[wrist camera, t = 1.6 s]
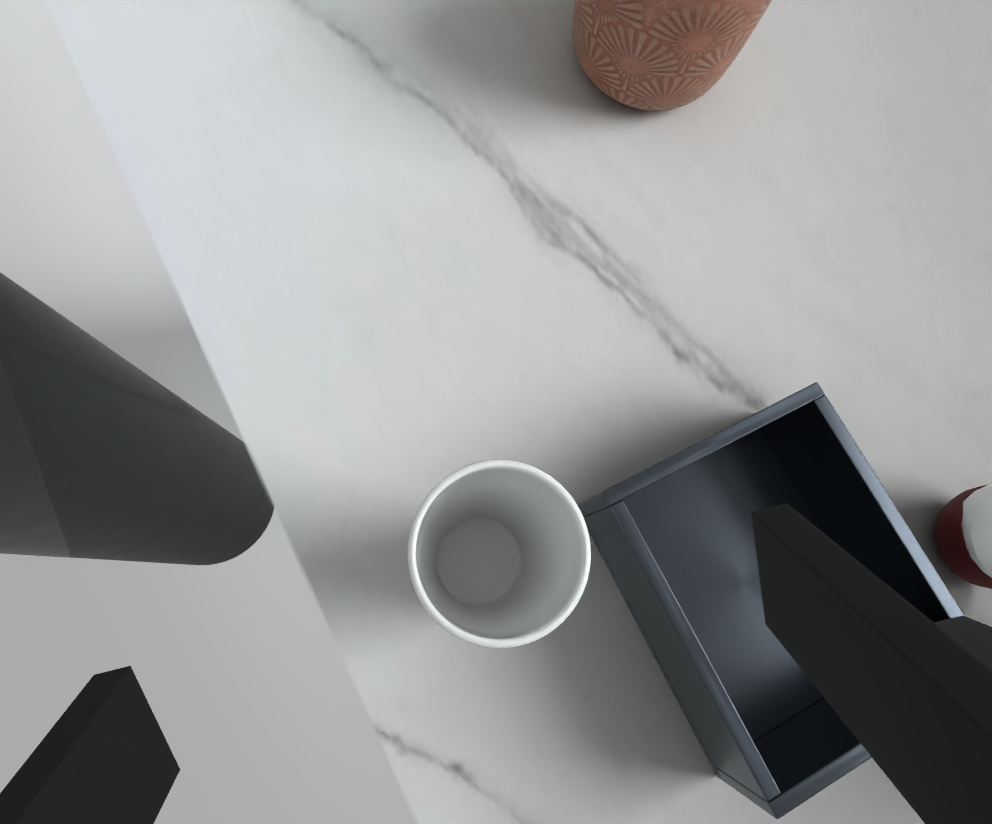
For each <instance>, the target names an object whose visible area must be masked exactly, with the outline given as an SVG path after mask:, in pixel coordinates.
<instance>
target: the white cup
mask: <svg viewBox="0 0 992 824" xmlns="http://www.w3.org/2000/svg"><path fill="white" fill-rule="evenodd" d="M590 564H591V545H590V538H589V533H588V529H587V526H586V523H585V520H584V517H583V515H582V513H581V511H580V509H579V507H578V505H577V504H576V502H575V501H574V499H573V498H572V496H571V495H570V494H569V493H568V492H567V490H566V489H565V488H564V487H563V486H562V485H561V484H560V483H559V482H557V481H556V480H555V479H554V478H552V477H551V476H549V475H548V474H546V473H545V472H543V471H541V470H539V469H537V468H535V467H532V466H530V465H527V464H524V463H520V462H515V461H509V460H489V461H482V462H477V463H474V464H471V465H468V466H465V467H463V468H460V469H459V470H457V471H455V472H453V473H451V474H450V475H448V476H447V477H445V478H444V479H443V480H442V481H441V482H439V483H438V484H437V485H436V486H435V487H434V488H433V489H432V490H431V491H430V493H429V494H428V495H427V496H426V498H425V499H424V501H423V502H422V504H421V505H420V507H419V509H418V511H417V513H416V515H415V518H414V520H413V523H412V526H411V530H410V534H409V540H408V567H409V573H410V577H411V581H412V585H413V587H414V590H415V592H416V594H417V596H418V598H419V600H420V602H421V604H422V605H423V607H424V608H425V610H426V611H427V612H428V613H429V615H430V616H431V617H432V618H433V619H434V620H435V621H436V622H437V623H438V624H439V625H440V626H441V627H442V628H444V629H445V630H446V631H448V632H449V633H451V634H452V635H454V636H456V637H457V638H459V639H461V640H464V641H466V642H468V643H471V644H475V645H478V646H483V647H489V648H510V647H517V646H521V645H525V644H528V643H531V642H534V641H536V640H538V639H540V638H542V637H544V636H545V635H547V634H549V633H550V632H552V631H553V630H554V629H556V628H557V627H558V626H559V625H560V624H561V623H562V622H563V621H564V620H565V619H566V618H567V617H568V616H569V615H570V614H571V612H572V611H573V609H574V608H575V607H576V605H577V603H578V602H579V600H580V598H581V596H582V594H583V591H584V589H585V586H586V583H587V580H588V576H589V571H590Z"/></svg>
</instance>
